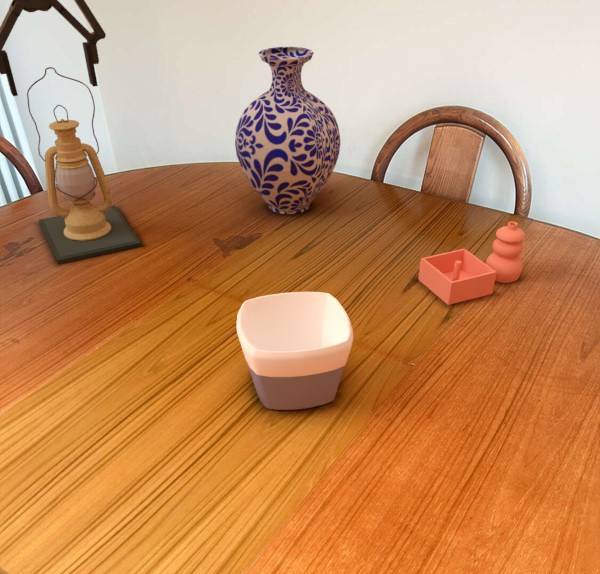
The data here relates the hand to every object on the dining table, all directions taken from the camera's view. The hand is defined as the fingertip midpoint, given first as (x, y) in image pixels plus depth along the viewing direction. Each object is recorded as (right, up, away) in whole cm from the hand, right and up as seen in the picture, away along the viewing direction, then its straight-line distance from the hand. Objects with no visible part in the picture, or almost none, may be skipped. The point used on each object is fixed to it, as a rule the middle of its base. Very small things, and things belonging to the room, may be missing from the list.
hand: (55, 89), depth 115 cm
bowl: (+42, -52, -21) cm, 70 cm away
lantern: (0, -20, +17) cm, 27 cm away
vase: (+40, -12, +28) cm, 51 cm away
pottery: (+74, -33, +2) cm, 81 cm away
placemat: (0, -21, +17) cm, 27 cm away
